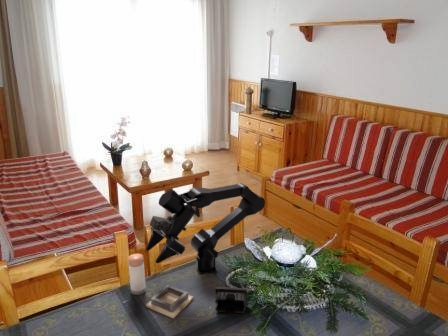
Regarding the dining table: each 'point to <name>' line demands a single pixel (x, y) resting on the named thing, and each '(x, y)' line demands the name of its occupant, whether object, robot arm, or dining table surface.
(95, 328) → the dining table surface
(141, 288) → the white bottle
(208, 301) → the dining table surface
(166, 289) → the socket plate
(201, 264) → the robot arm
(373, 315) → the dining table surface
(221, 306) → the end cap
